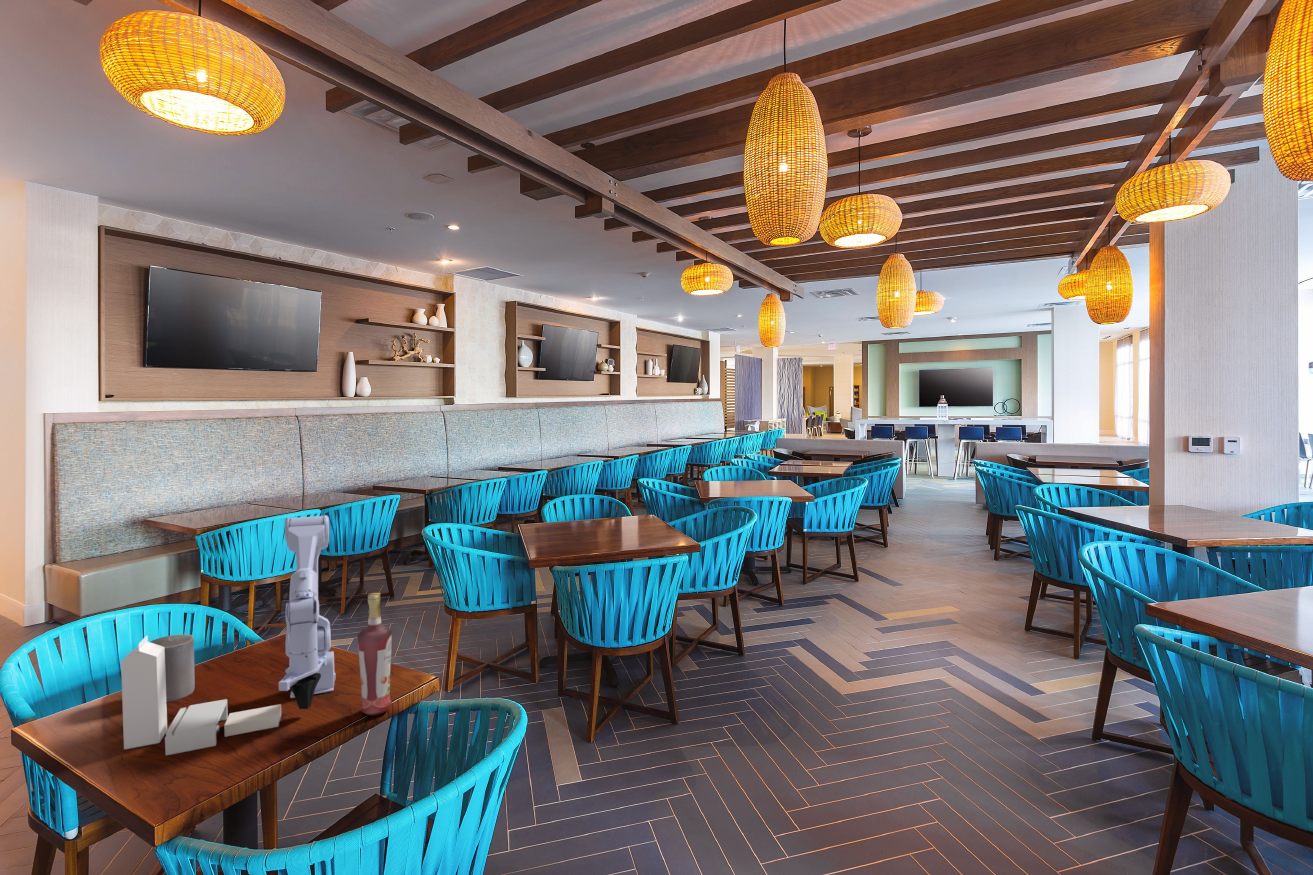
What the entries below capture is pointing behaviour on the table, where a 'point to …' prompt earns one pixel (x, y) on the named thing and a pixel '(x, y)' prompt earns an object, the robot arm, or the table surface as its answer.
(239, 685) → the table surface
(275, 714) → the cream rectangular beam
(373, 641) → the liquor
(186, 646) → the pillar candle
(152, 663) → the milk
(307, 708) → the robot arm
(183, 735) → the slotted white box
